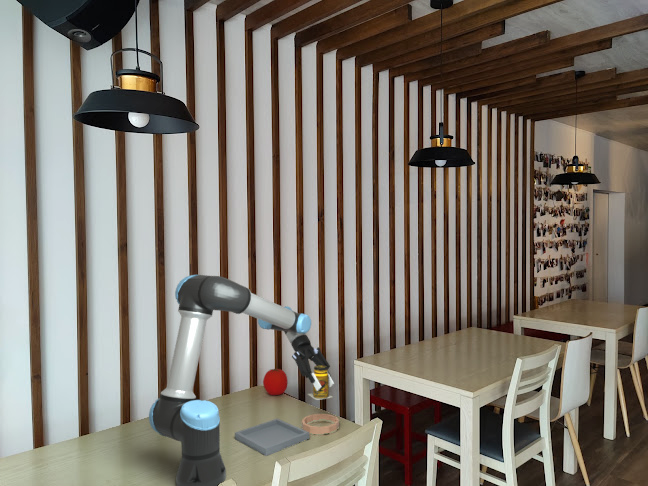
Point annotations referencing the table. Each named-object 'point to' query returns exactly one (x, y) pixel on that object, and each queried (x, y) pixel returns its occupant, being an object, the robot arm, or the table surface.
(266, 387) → the tomato
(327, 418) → the ring holder
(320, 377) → the condiment
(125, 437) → the table surface
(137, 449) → the table surface
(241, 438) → the tray
